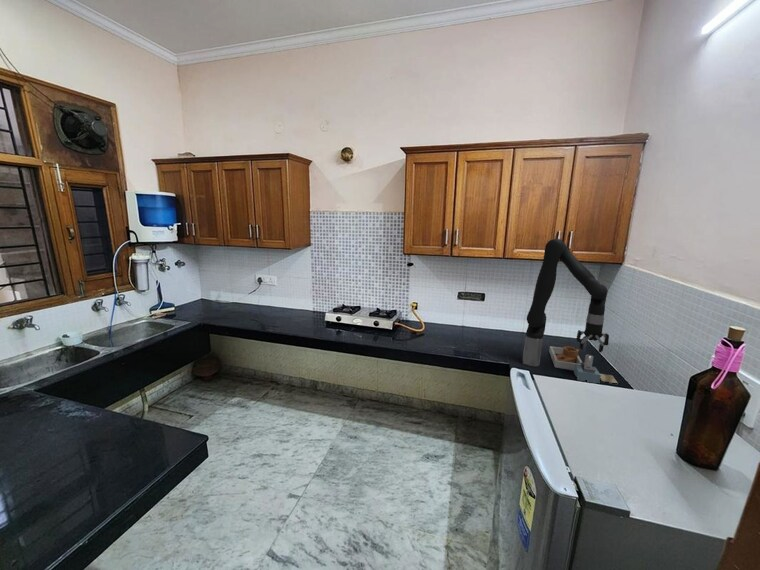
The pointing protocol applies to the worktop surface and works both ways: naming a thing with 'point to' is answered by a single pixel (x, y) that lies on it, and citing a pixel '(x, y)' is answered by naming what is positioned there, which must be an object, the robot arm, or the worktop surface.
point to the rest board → (608, 378)
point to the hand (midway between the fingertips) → (590, 350)
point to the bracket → (568, 354)
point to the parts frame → (561, 363)
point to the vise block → (586, 373)
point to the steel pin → (588, 361)
